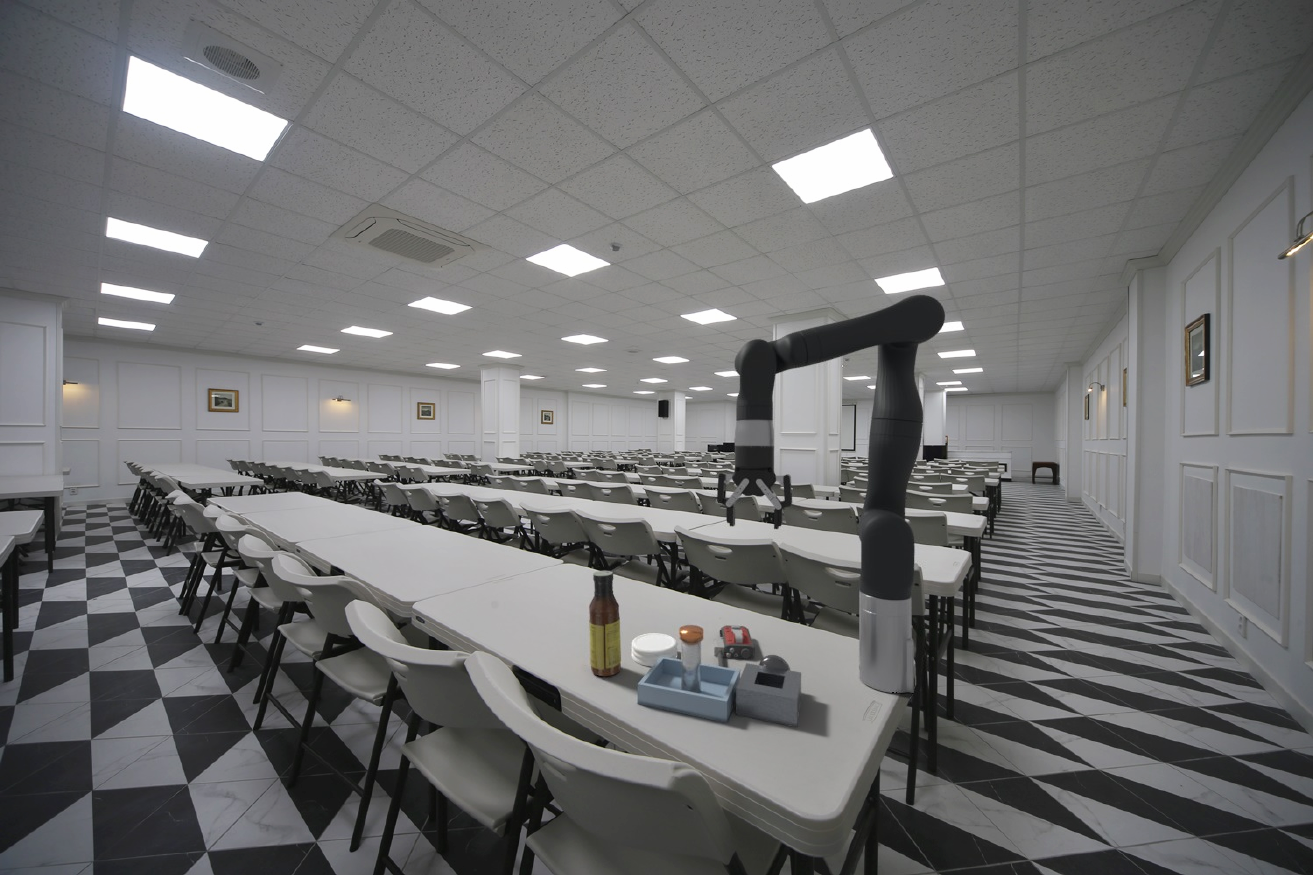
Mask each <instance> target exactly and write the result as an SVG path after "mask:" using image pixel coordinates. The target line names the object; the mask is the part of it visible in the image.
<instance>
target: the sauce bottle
mask: <svg viewBox="0 0 1313 875" xmlns="http://www.w3.org/2000/svg"><path fill="white" fill-rule="evenodd" d="M592 576H593V577H592V579H593V582H594V593H593V594H594V596H593V598H592V599H591V602H590V603H589V607H588V609H589V611H588V613H589V620H588V621H589V623H588V624H589V626H588V628H589V660H590V662H589V664H590V670H591V672H592V673H593V675H595V676H597V675H598V677H599V676H600V677H611V676H614V675H616V674H618V673H619V672H620V671H621V667H622V665H621V661H622V651H621V650H622V648H621V647H622V646H621V621H620V620H621V619H620V617H621V616H620V613H619V612H620V605H619V603H618V601H617V599H616V597H615V595H614V590H613V589H614V588H613V587H614V586H613V584H614V583H613V581H614V572H613V571H611V570H599V571H596V572H593V575H592Z"/></svg>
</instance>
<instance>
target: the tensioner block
mask: <svg viewBox="0 0 1313 875" xmlns="http://www.w3.org/2000/svg"><path fill="white" fill-rule="evenodd" d="M745 663H746V662H745ZM801 700H802V672H801V671H795V670H791V667H790V665H789V664H788V662H787V661H786V660H785V659H784V657H783V658H782V657H781V656H779V655H776V654H769V655H768V654H767V655H766V656H764V657H762V659H761V660H760V661H759V663H758V664H753V663H748V662H747V663H746V664H745V666H744V668H743V670H742V673H741V674H740V680H739V683H738V685H737V688H736V700H735V707H736V708H735V709H736V710H735V713H736V714H735V715H736V716H741V717H746V718H751V719H755V720H761V721H765V722H769V723H770V722H771V723H775V724H780V725H785V726H790V727H793V728H798V724H799V717H800V709H801V703H802V702H801Z"/></svg>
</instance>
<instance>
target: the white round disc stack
mask: <svg viewBox="0 0 1313 875" xmlns="http://www.w3.org/2000/svg"><path fill="white" fill-rule="evenodd" d="M630 645H631V649H630V650H631V659H632V660H633V662H635V663H637V664H639V665H642V666H645V667H650V668H651V667H652V666H653V665H654V664H655V663H656V661H657V660H658V659H659V658H660V657H661V656H663V657H668V658H674V659H678V641H677V640H676V639H675V638H674V637H673V636H671V635H669V634H665V633H658V632H657V633H656V632H654V633H653V632H651V633H649V632H648V633H644V634H641V635H638V636H636V637H634V639H633V640H631V644H630Z"/></svg>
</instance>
